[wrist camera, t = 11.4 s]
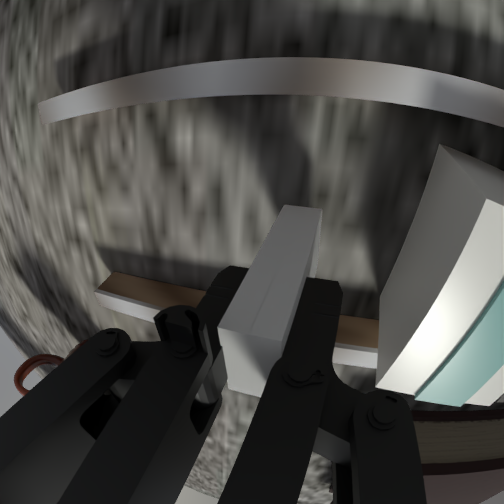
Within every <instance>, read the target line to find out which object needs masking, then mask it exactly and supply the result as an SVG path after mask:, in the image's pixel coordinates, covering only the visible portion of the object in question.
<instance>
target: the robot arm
mask: <svg viewBox="0 0 504 504" xmlns="http://www.w3.org/2000/svg"><path fill="white" fill-rule="evenodd" d="M321 220H322V209H318V208H310V207H301V206H293V205H284V206H283V207H282V209H281V211H280V213H279V215H278V217H277V219H276V220H275V222H274V224H273V226H272V228H271V230H270V232H269V233H268V235H267V237H266V239H265V241H264V243H263V244H262V246H261V248H260V250H259V252H258V254H257V255H256V257H255V259H254V261H253V263H252V265H251V267H250V268H242V267H236V266H229V267H227V268H226V269H224V270H223V271H221V272H220V273H219V274H218V275H217V276H216V278H215V279H214V281H213V282H212V284H211V287H209V289H208V290H207V292H206V294H205V295H204V296H203V298H202V299H201V301H200V302H199V304H198V305H197V307H196V308H194V307H192V306H189V305H175V306H170V307H168V308H166V309H163V310H161V311H160V312H159V313H158V314H156V315H155V316H154V317H153V319H154V322H155V325H156V328H157V330H158V333H159V336H160V339H161V341H156V342H140V341H131V339H130V336H129V335H128V334H127V333H126V332H125V331H123V330H121V329H118V328H109V329H105V330H102V331H100V332H98V333H97V334H95V335H94V336H92V337H91V338H90V339H89V340H88V341H87V342H85V343H84V344H83V345H82V346H81V347H79V348H78V349H77V350H76V351H75V352H74V353H72V354H71V355H70V356H69V357H68V358H67V359H65V360H64V361H63V362H62V363H61V364H60V365H59V366H57V367H56V368H55V369H54V370H53V371H52V372H50V373H49V374H48V375H47V376H46V377H45V378H44V379H42V380H41V381H40V382H39V383H38V384H37V385H36V386H35V387H33V389H31V390H30V391H29V392H28V393H27V394H26V395H24V396H23V397H22V398H21V399H20V400H19V401H18V402H17V403H16V404H14V405H13V406H12V407H11V408H10V409H9V410H8V411H7V412H6V413H5V414H4V415H2V416H1V417H0V504H175V502H176V500H177V498H178V496H179V494H180V492H181V490H182V488H183V486H184V484H185V482H186V480H187V478H188V476H189V474H190V471H191V469H192V467H193V465H194V463H195V461H196V459H197V457H198V455H199V453H200V450H201V448H202V446H203V444H204V442H205V440H206V438H207V435H208V433H209V431H210V429H211V427H212V425H213V422H214V420H215V418H216V416H217V414H218V411H219V409H220V407H221V404H222V395H221V392H222V390H223V387H224V385H225V383H226V381H227V383H228V388H229V389H230V390H234V391H238V392H242V393H246V394H250V395H254V396H258V397H261V398H260V401H259V403H258V406H257V409H256V411H255V414H254V416H253V419H252V422H251V424H250V427H249V429H248V432H247V434H246V437H245V439H244V442H243V444H242V447H241V449H240V452H239V454H238V457H237V459H236V461H235V464H234V466H233V469H232V471H231V473H230V476H229V478H228V480H227V483H226V485H225V487H224V490H223V492H222V494H221V497H220V499H219V501H218V503H217V504H297V501H298V498H299V495H300V491H301V488H302V485H303V482H304V478H305V475H306V471H307V468H308V464H309V461H310V457H311V454H312V451H314V452H315V453H317V454H319V455H321V456H323V457H325V458H327V459H329V460H331V461H332V477H333V504H427V500H426V492H425V485H424V478H423V471H422V464H421V458H420V453H419V447H418V442H417V436H416V431H415V426H414V421H413V417H412V412H411V410H410V407H409V405H408V403H407V402H406V401H405V400H404V399H403V398H402V397H401V396H400V395H398V394H396V393H394V392H392V391H387V390H376V391H373V392H369V393H367V394H364V393H362V392H360V391H358V390H355V389H353V388H351V387H349V386H348V385H346V384H345V383H343V382H342V381H341V380H340V379H339V378H338V376H337V375H336V373H335V371H334V368H333V365H332V360H333V353H334V347H335V341H336V336H337V330H338V324H339V317H340V311H341V304H342V297H343V292H342V290H341V287H340V285H339V283H338V281H331V280H325V279H318V278H315V275H316V271H317V266H318V256H319V245H320V233H321Z"/></svg>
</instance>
